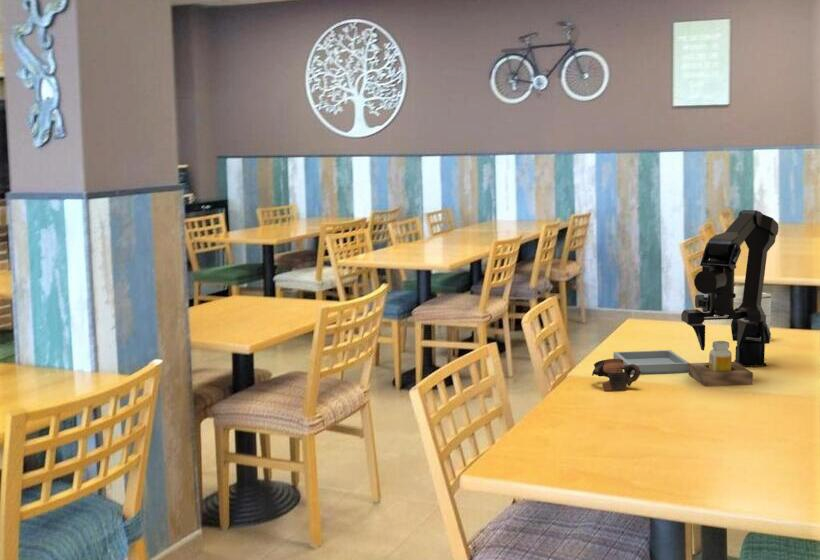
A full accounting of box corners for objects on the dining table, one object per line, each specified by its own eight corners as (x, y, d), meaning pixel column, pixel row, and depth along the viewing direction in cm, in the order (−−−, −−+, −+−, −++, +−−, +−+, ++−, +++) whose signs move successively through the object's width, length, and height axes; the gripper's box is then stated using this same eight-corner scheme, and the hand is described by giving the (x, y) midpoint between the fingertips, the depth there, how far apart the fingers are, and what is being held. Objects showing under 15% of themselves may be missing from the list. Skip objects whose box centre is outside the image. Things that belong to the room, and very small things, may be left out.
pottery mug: (591, 393, 239) (586, 361, 242) (601, 401, 247) (596, 370, 250) (640, 384, 234) (634, 351, 238) (648, 392, 242) (642, 360, 246)
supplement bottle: (704, 379, 247) (705, 342, 246) (716, 375, 251) (717, 339, 249) (723, 383, 243) (724, 345, 242) (735, 379, 247) (736, 342, 245)
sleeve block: (734, 372, 253) (734, 361, 253) (752, 384, 241) (752, 372, 241) (688, 374, 253) (688, 363, 252) (704, 386, 241) (705, 374, 240)
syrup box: (741, 339, 293) (742, 292, 290) (758, 338, 294) (759, 290, 292) (753, 343, 287) (755, 294, 285) (770, 341, 289) (772, 293, 287)
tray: (670, 358, 270) (670, 350, 270) (689, 372, 255) (689, 363, 254) (613, 360, 270) (613, 352, 269) (629, 374, 254) (629, 365, 253)
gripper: (745, 282, 252) (744, 341, 254) (674, 284, 251) (673, 344, 253) (763, 288, 241) (762, 350, 243) (689, 291, 240) (688, 353, 242)
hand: (720, 349), depth 246 cm, fingers open, 9 cm apart
